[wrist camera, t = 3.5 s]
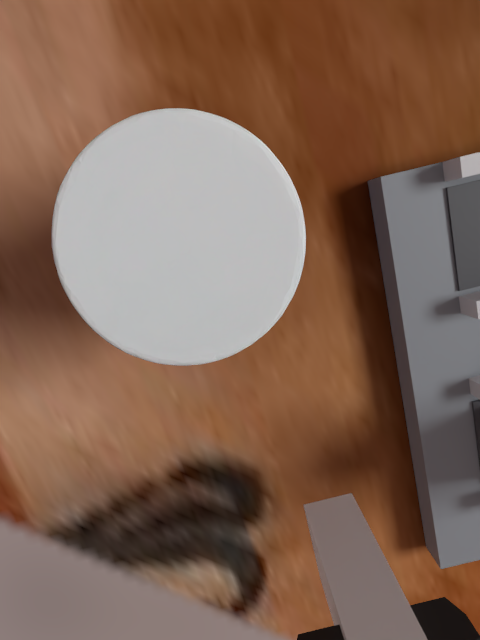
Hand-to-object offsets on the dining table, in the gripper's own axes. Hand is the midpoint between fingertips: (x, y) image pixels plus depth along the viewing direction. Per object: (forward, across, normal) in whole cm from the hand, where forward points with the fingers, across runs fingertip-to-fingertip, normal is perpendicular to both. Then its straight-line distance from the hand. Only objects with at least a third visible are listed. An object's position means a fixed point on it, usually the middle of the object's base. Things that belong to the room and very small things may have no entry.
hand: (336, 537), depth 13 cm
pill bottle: (+4, -2, +10) cm, 11 cm away
